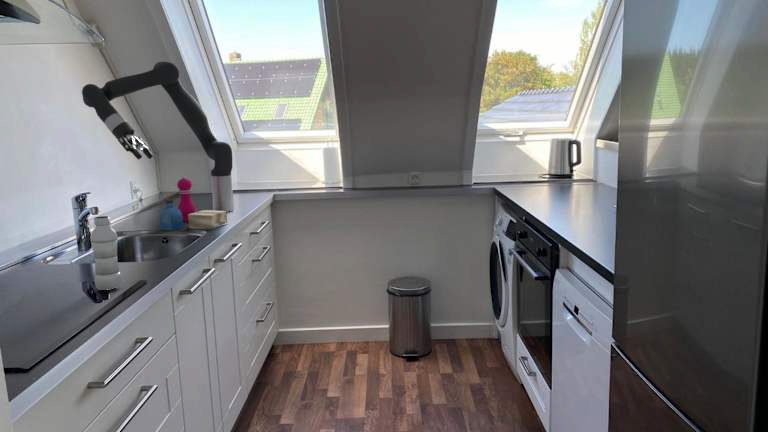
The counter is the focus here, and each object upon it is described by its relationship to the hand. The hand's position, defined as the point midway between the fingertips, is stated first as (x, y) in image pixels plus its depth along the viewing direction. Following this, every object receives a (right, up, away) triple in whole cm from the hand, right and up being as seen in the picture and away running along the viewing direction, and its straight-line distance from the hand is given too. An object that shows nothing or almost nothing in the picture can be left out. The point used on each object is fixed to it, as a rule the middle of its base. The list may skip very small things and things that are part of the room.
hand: (146, 157), depth 226 cm
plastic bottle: (+22, -44, -75) cm, 90 cm away
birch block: (+23, -28, +8) cm, 37 cm away
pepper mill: (+9, -26, +21) cm, 35 cm away
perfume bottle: (+9, -29, +4) cm, 31 cm away
